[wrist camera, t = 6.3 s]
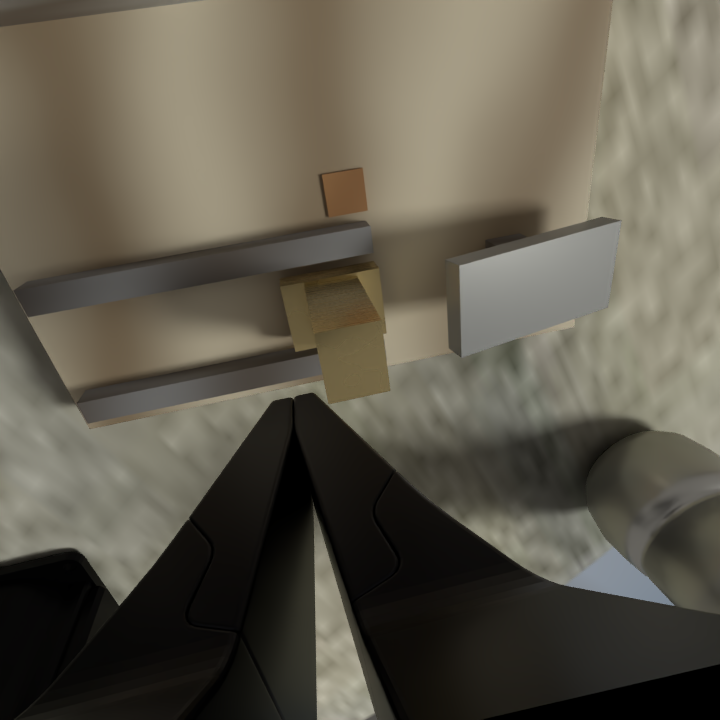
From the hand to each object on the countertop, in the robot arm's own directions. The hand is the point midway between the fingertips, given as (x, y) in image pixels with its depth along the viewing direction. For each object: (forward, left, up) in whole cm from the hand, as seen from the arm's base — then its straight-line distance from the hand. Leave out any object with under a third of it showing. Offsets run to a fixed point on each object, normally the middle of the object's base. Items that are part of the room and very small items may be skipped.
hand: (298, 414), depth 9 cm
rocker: (+7, 0, -4) cm, 9 cm away
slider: (+1, 0, -6) cm, 6 cm away
